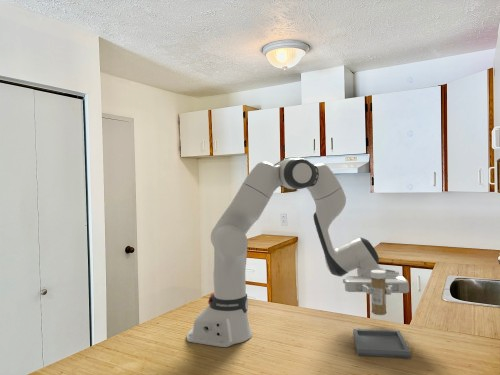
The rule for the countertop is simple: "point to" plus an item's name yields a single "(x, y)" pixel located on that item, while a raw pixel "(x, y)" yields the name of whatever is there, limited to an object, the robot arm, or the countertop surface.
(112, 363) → the countertop surface
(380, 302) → the sprinkles bottle
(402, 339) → the tray
